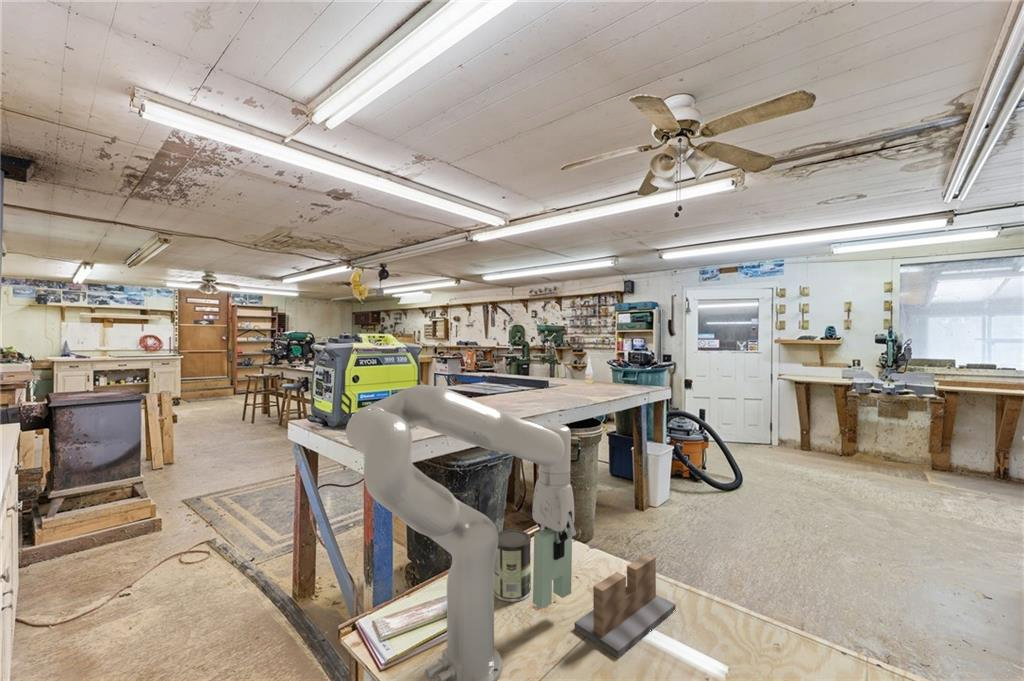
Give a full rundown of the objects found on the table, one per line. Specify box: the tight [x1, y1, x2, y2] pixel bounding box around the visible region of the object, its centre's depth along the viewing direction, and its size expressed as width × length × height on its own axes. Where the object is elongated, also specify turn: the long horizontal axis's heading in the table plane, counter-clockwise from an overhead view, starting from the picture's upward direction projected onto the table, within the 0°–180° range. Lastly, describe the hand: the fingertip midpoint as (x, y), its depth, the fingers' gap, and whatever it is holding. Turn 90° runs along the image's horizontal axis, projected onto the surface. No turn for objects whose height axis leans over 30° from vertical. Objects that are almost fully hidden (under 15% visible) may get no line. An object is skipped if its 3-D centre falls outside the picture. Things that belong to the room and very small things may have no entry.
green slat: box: [532, 528, 573, 610], centre depth 99 cm, size 3×10×16 cm, turn 131°
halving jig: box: [574, 553, 677, 659], centre depth 100 cm, size 24×12×12 cm, turn 131°
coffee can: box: [494, 529, 532, 603], centre depth 111 cm, size 10×10×14 cm
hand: (553, 554), depth 99 cm, fingers closed on green slat, 3 cm apart
